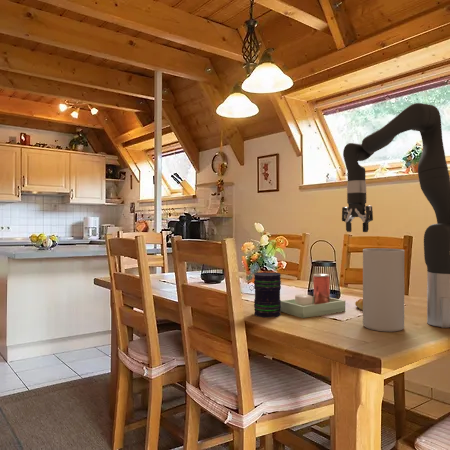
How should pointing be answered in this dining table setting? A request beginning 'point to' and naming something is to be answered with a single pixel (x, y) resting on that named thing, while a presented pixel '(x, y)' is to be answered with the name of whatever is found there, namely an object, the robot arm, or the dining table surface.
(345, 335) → the dining table surface
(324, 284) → the tin
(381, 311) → the cylinder vase
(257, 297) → the storage jar
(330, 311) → the green tray
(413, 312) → the dining table surface
